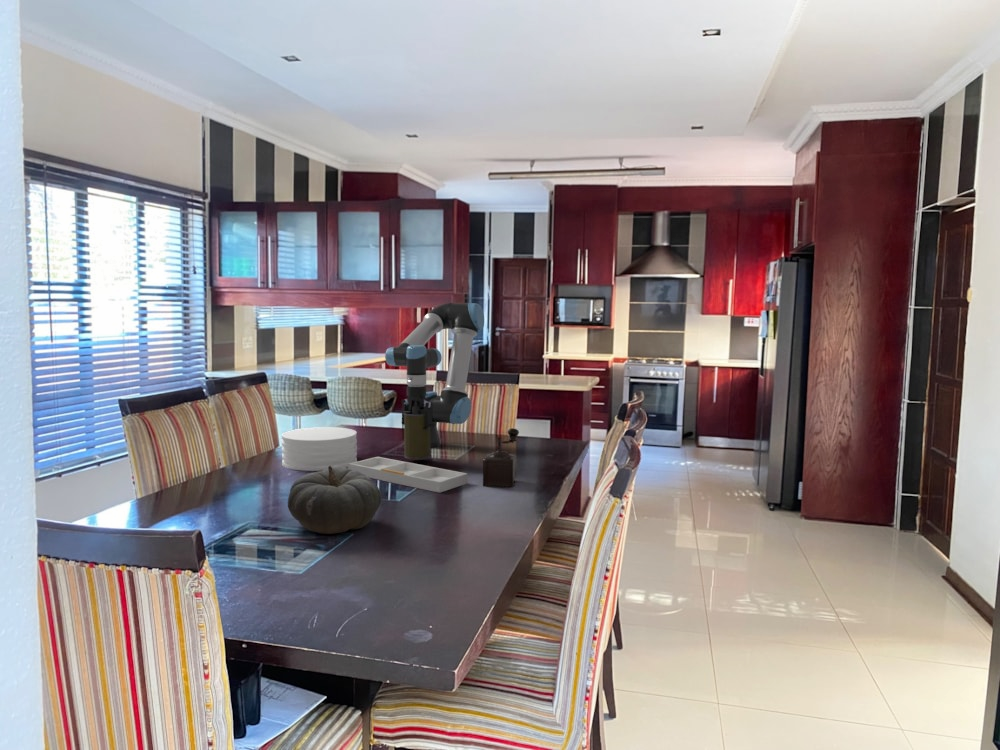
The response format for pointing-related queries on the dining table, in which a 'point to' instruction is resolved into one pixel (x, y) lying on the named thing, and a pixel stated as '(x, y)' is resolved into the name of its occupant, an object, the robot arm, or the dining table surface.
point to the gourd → (334, 500)
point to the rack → (410, 474)
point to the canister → (415, 435)
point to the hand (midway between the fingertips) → (416, 444)
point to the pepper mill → (500, 465)
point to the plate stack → (318, 448)
